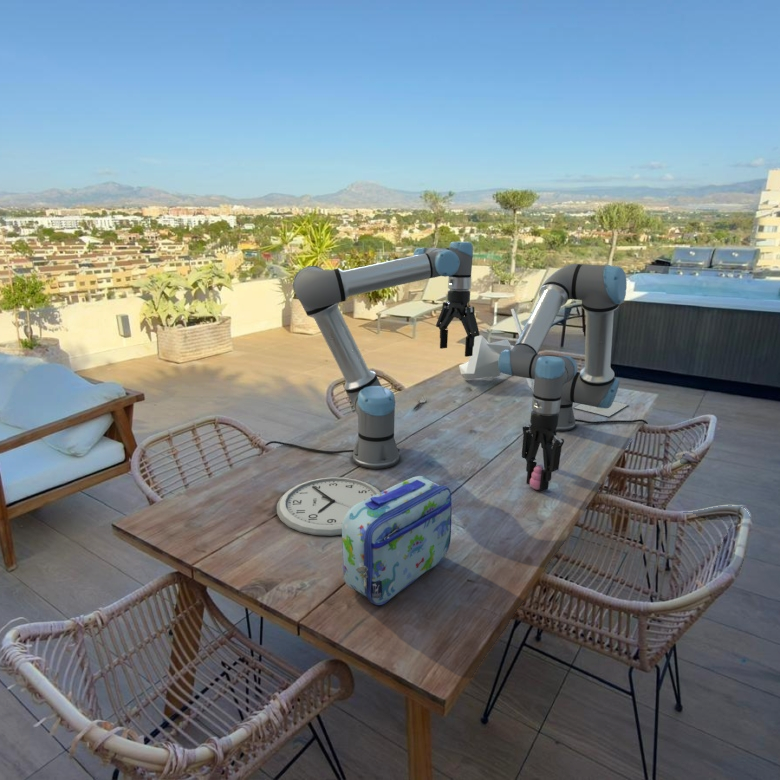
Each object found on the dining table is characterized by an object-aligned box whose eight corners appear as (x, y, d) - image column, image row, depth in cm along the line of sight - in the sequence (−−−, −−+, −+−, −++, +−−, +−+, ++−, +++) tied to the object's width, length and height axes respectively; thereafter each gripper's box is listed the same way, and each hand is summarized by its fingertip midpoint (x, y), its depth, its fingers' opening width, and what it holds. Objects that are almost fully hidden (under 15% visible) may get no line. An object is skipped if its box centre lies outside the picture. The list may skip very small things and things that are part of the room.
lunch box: (371, 618, 102) (371, 524, 95) (336, 591, 109) (334, 502, 103) (455, 562, 119) (460, 479, 113) (420, 542, 126) (423, 463, 120)
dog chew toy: (536, 483, 157) (538, 461, 155) (547, 489, 153) (550, 467, 151) (525, 486, 155) (528, 464, 152) (537, 493, 151) (539, 470, 149)
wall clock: (392, 527, 129) (268, 531, 127) (391, 533, 130) (269, 537, 127) (383, 473, 158) (282, 475, 155) (383, 478, 158) (282, 480, 156)
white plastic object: (480, 422, 262) (459, 399, 237) (462, 348, 284) (440, 320, 259) (552, 397, 249) (538, 371, 225) (527, 322, 271) (511, 291, 247)
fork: (410, 410, 218) (411, 405, 217) (421, 399, 232) (422, 394, 231) (416, 411, 217) (417, 406, 216) (427, 399, 231) (427, 395, 230)
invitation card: (608, 416, 214) (573, 407, 224) (608, 416, 214) (573, 408, 224) (628, 404, 229) (594, 396, 238) (628, 405, 229) (594, 397, 238)
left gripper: (427, 286, 182) (425, 346, 189) (475, 294, 162) (471, 361, 169) (444, 285, 186) (442, 344, 193) (493, 293, 166) (488, 358, 172)
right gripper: (513, 405, 152) (506, 477, 159) (560, 424, 138) (551, 502, 145) (531, 400, 156) (524, 471, 163) (579, 418, 142) (569, 495, 149)
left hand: (455, 352), depth 181 cm, fingers open, 13 cm apart
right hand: (536, 486), depth 154 cm, fingers closed on dog chew toy, 4 cm apart
